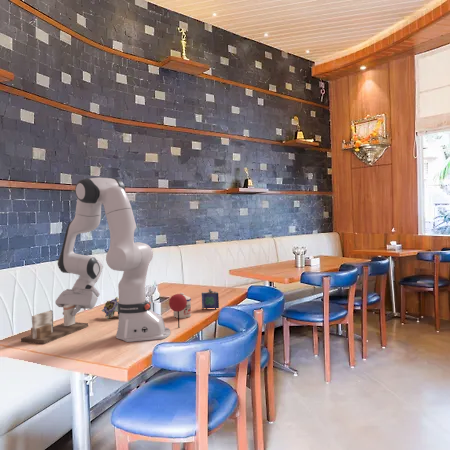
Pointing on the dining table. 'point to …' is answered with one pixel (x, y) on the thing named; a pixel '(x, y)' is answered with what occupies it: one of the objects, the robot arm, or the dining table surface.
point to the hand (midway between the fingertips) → (68, 315)
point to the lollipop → (177, 303)
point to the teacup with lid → (186, 311)
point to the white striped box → (68, 315)
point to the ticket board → (56, 333)
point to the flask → (210, 299)
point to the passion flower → (111, 307)
